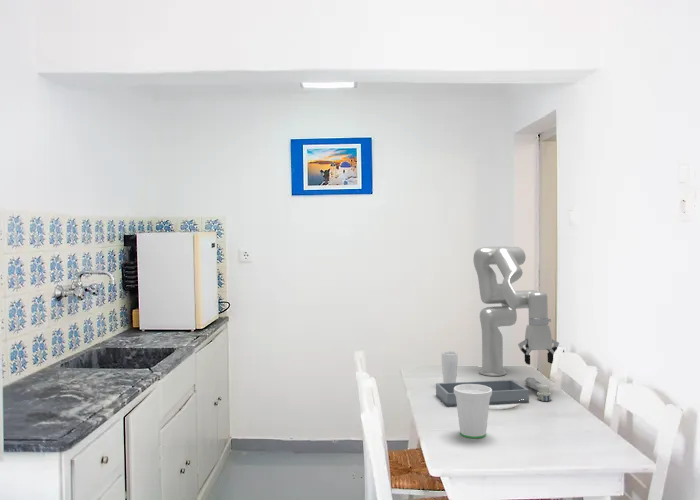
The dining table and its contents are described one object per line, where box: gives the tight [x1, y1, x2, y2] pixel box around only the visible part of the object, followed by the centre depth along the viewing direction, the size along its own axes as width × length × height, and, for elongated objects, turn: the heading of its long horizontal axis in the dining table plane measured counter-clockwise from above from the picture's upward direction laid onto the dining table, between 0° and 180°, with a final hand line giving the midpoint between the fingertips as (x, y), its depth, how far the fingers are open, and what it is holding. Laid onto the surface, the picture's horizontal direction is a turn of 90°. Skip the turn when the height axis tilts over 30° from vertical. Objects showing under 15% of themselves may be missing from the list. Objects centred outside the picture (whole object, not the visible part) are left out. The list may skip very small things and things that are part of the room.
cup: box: [454, 384, 492, 439], centre depth 195 cm, size 12×12×15 cm
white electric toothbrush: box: [524, 377, 552, 402], centre depth 244 cm, size 5×7×25 cm
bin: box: [435, 379, 530, 408], centre depth 236 cm, size 16×33×5 cm, turn 97°
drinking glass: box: [441, 350, 458, 383], centre depth 255 cm, size 7×7×15 cm
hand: (539, 363), depth 243 cm, fingers open, 9 cm apart
